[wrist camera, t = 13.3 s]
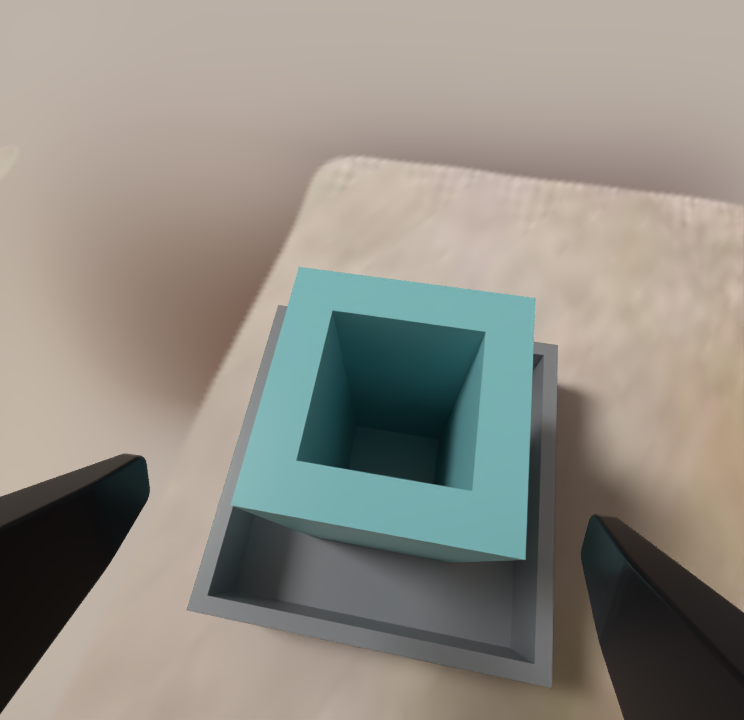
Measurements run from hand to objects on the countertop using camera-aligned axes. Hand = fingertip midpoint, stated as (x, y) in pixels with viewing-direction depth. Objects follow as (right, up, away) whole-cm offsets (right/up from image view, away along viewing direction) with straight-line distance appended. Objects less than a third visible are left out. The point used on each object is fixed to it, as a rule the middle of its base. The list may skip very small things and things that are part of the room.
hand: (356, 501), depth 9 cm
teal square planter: (+1, -3, +13) cm, 13 cm away
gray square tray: (+1, -3, +13) cm, 14 cm away
